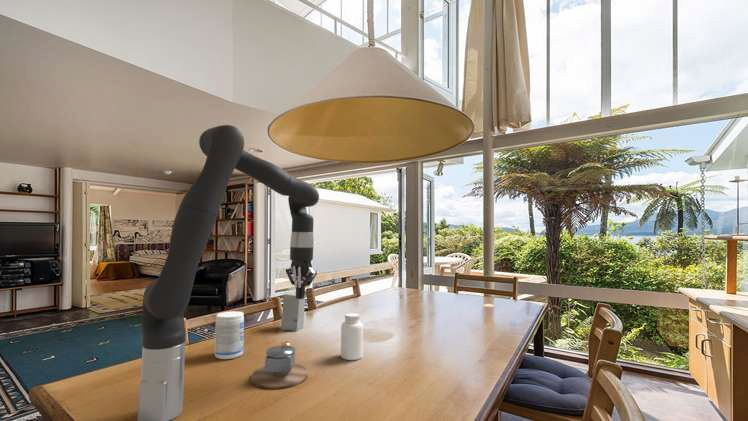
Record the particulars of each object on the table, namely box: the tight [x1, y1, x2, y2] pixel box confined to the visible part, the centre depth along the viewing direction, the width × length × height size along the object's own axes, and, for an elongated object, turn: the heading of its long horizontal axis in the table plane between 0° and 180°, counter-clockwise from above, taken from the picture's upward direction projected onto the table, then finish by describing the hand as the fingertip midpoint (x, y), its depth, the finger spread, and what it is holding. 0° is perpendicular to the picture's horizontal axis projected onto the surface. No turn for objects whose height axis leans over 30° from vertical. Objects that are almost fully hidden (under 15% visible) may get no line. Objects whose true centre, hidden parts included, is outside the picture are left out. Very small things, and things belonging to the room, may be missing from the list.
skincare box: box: [280, 292, 306, 332], centre depth 165 cm, size 8×7×16 cm
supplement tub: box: [214, 310, 245, 360], centre depth 130 cm, size 10×10×15 cm
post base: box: [250, 363, 309, 390], centre depth 113 cm, size 18×17×6 cm
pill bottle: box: [340, 313, 364, 361], centre depth 131 cm, size 8×8×15 cm
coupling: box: [264, 341, 296, 372], centre depth 115 cm, size 14×9×5 cm, turn 3°
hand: (300, 298), depth 119 cm, fingers closed
